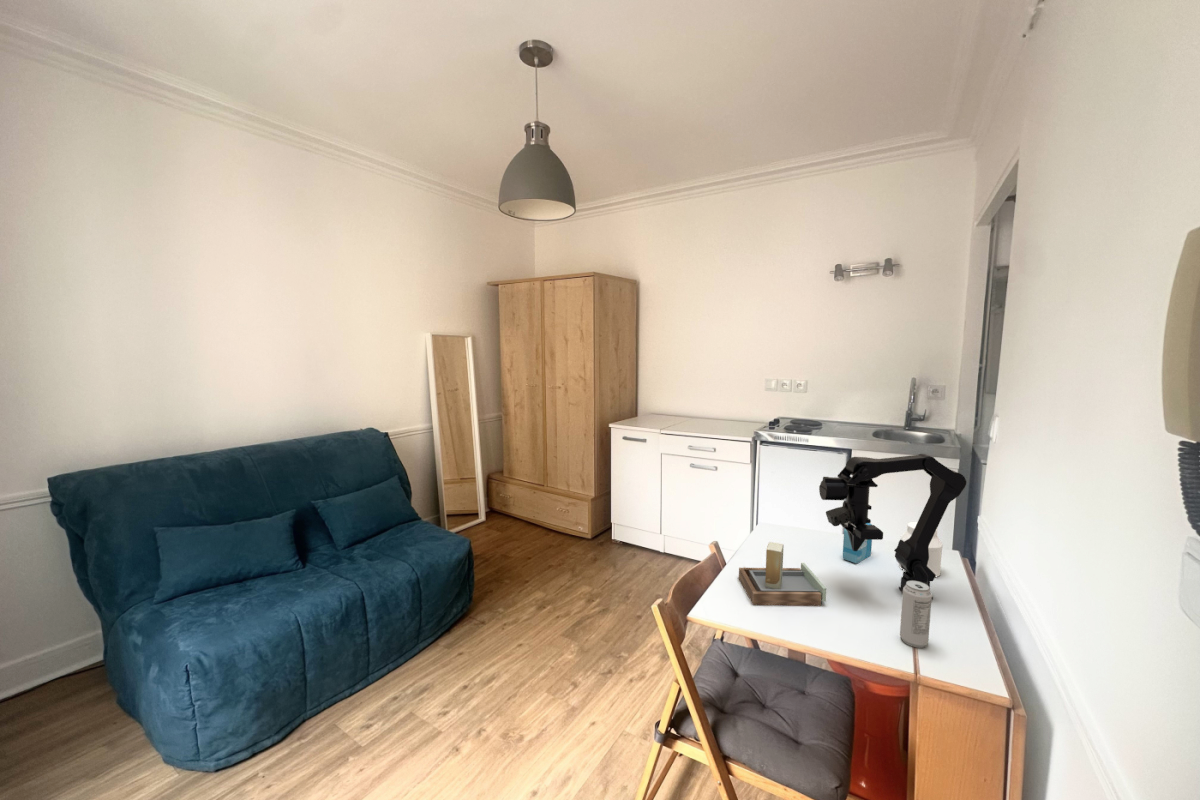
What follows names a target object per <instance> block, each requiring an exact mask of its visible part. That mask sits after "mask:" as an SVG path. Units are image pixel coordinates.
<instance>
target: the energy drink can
mask: <svg viewBox="0 0 1200 800" xmlns="http://www.w3.org/2000/svg"><path fill="white" fill-rule="evenodd" d="M901 597H902V599H901V614H900V626H899V627H900V628H899V636H900V638H901V640H902V641H903V643H905V644H906V645H907V646H909V647H910V646H911V647H913V648H918V649H921V648H922V649H923V648H925V647H926V645H928V644H929V639H930V623H931V613H932V600H933V599H932V597H933V594H932V592H931V591H930V590H929V586H928V585H926V584H924V583H922V582H919V581H907V582H906V585H905V586H904V587H903V592H902V596H901Z"/></svg>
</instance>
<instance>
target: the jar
mask: <svg viewBox="0 0 1200 800" xmlns="http://www.w3.org/2000/svg"><path fill="white" fill-rule="evenodd" d="M917 522H918V521H912V522H908V523H907V527H906V528H907V529H906V530H905V532H904V533H903V534H901V536H900V540H903V541H904V542H905V541H906V540H908V539H909V538H910V537H911V535H912V533H913V531H914V529H915V527H916V524H917ZM943 546H944V544H943V542H942V541H941V540H940V538H939V536H938V528H937V529H936V532H935V534H934V536H933V538H932V540H931V542H930V544H929V547H928V549H929V560H928V564H927V567H928V568H929V569H930V570H931V571H932V572H933V573H934V574H935V575H936V576H939V575H940V576H941V574H940V573H941V572H942V571H941V565H942V551H943ZM899 566H900V567H901V565H900V564H899V563H898V567H899ZM900 567H899V568H900ZM936 576H935V577H936ZM940 576H939V577H940ZM936 578H937V577H936Z"/></svg>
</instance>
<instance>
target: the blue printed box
mask: <svg viewBox="0 0 1200 800" xmlns="http://www.w3.org/2000/svg"><path fill="white" fill-rule="evenodd" d="M866 524H867V525H873V524H872V523H866ZM842 543H843V544H842V559H843V560H845V561H847V562H851V563H853V564H856V563H857V564H859V563H860V561H861V562H862V561H863V560H865V558H866V559H868V558H869V557H870V556H871V554H872V545H873V540H865V541H864V542H863V544H862V545H861V546H860V548H859V549H858V551H853V550H852V546H851V542H850V538H849V535H848V532H847V530H846V529H845V528H844V529H843V541H842Z"/></svg>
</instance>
